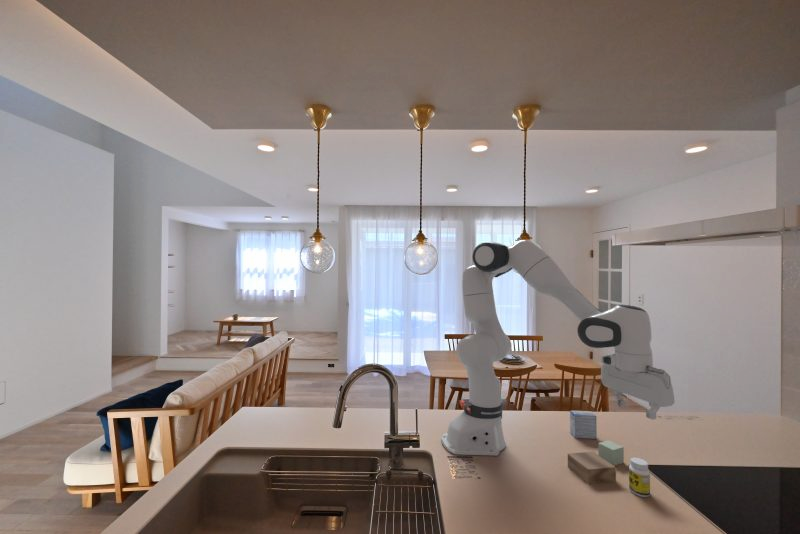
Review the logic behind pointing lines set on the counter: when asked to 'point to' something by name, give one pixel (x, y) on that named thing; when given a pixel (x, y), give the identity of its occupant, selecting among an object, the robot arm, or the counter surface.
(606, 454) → the sage block
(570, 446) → the counter surface
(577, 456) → the walnut block
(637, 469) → the supplement bottle
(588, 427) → the medicine box
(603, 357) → the robot arm
